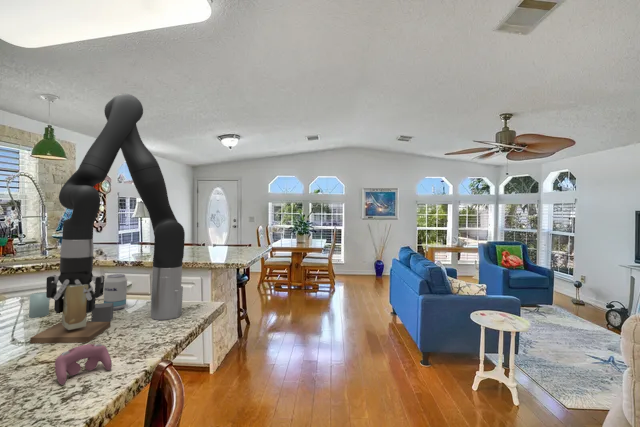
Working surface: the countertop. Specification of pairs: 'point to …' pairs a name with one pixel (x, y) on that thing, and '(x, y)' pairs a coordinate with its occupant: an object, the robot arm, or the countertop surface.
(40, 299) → the grey-green rounded block
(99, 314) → the rubber block
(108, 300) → the beverage can
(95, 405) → the countertop surface
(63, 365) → the video game controller
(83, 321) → the skincare box
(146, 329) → the countertop surface
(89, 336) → the wooden board
